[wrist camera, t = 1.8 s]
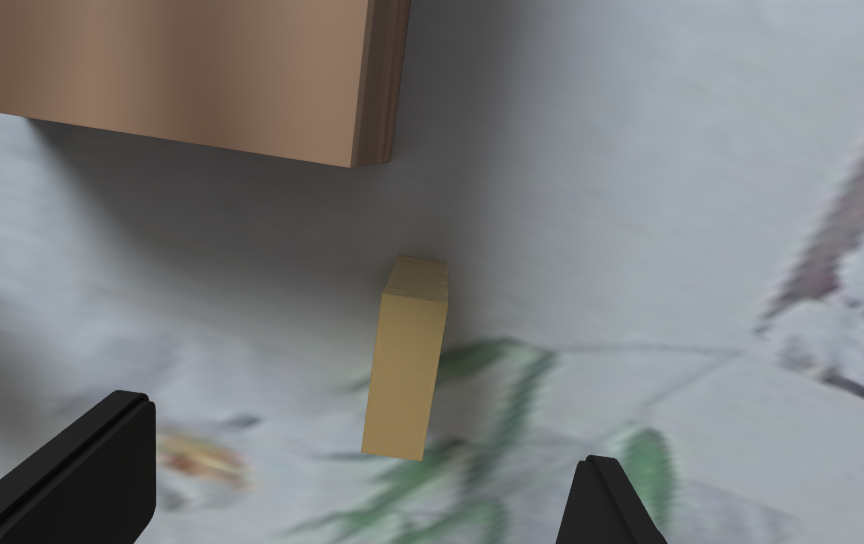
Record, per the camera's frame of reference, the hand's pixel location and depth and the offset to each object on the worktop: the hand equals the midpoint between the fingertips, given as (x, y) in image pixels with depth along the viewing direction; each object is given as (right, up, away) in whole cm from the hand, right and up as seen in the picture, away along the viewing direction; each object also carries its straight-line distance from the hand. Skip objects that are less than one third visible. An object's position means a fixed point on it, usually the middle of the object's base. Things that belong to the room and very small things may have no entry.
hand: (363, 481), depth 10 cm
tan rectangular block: (+1, +2, +12) cm, 12 cm away
